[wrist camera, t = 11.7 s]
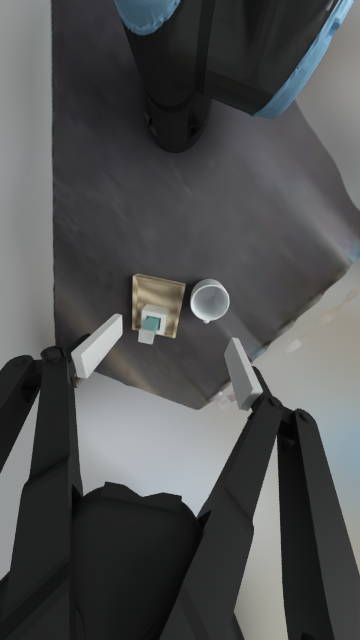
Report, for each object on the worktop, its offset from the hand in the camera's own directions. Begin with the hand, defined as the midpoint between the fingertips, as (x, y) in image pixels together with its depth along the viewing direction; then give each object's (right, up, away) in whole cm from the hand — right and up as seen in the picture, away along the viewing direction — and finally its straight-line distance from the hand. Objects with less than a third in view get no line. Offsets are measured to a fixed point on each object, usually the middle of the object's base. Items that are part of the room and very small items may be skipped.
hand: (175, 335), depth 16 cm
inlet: (-9, +4, +41) cm, 42 cm away
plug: (-9, +2, +37) cm, 38 cm away
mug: (+10, +12, +35) cm, 38 cm away
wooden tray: (-8, +7, +39) cm, 40 cm away
